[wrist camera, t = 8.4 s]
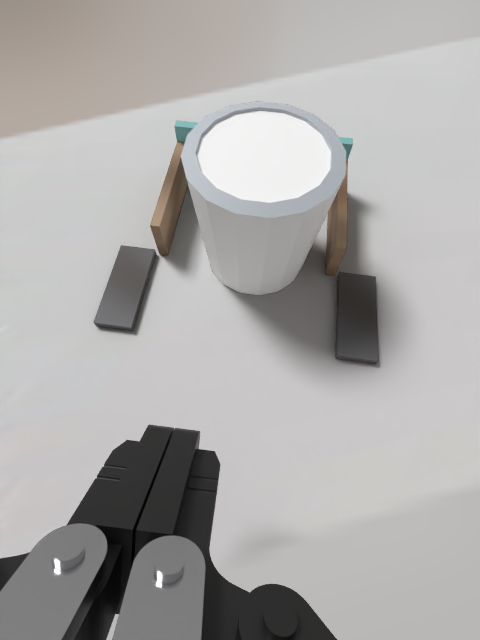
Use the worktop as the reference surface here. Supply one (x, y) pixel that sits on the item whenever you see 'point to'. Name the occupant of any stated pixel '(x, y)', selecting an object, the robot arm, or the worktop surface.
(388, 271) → the worktop surface
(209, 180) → the white cup
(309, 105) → the worktop surface
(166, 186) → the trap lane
